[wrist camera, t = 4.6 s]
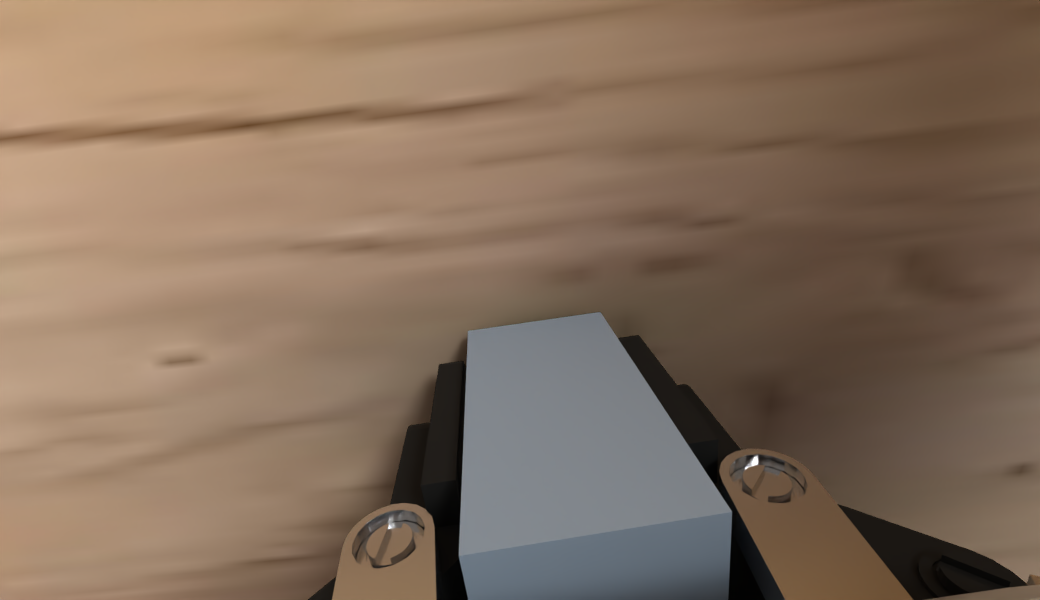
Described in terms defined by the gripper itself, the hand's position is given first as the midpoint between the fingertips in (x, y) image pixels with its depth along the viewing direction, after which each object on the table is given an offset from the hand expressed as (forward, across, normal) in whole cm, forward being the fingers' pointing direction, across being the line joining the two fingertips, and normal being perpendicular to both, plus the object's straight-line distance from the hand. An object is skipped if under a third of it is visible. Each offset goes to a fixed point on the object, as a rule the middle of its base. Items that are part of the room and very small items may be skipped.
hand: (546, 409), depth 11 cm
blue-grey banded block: (+1, 0, +5) cm, 5 cm away
